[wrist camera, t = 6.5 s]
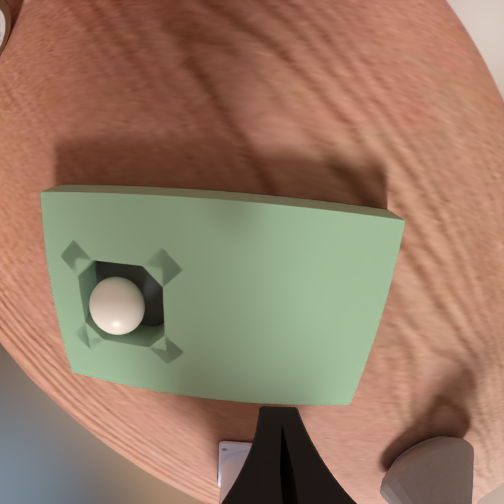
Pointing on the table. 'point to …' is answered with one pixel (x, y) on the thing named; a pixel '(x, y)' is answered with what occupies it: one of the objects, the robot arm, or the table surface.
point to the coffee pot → (431, 473)
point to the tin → (4, 23)
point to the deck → (222, 289)
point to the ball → (117, 305)
